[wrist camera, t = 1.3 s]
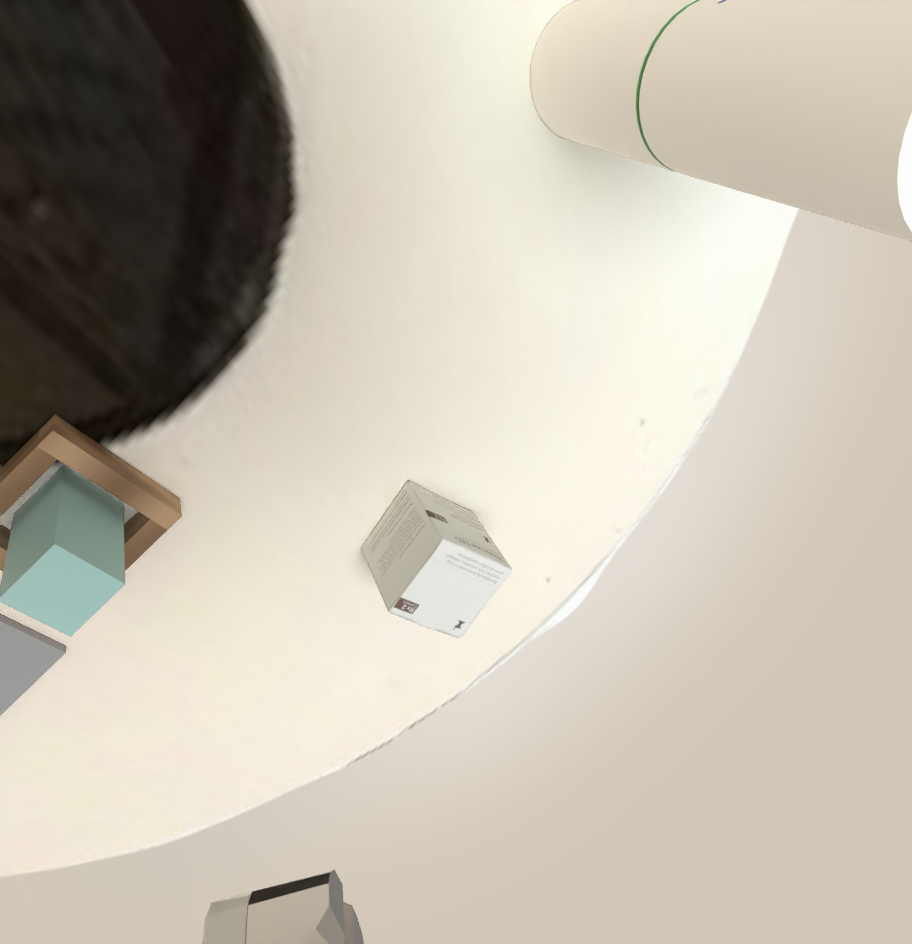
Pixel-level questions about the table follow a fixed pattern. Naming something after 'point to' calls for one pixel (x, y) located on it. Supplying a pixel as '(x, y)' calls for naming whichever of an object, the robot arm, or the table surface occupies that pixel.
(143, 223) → the table surface
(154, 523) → the pocket
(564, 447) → the table surface
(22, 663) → the mat
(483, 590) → the skincare box
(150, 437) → the table surface
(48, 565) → the teal block
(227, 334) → the table surface
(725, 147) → the cylindrical container
